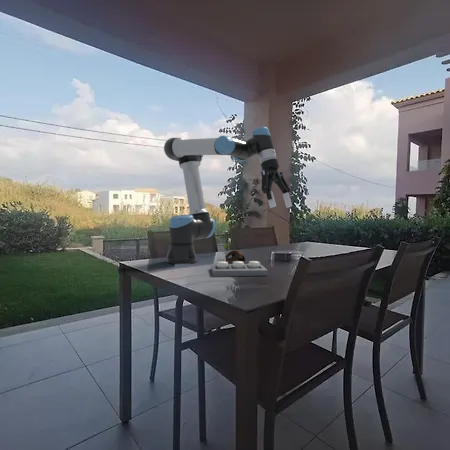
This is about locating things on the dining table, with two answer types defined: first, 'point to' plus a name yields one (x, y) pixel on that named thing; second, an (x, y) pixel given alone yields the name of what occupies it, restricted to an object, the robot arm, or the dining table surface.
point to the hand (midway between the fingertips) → (281, 207)
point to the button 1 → (222, 265)
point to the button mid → (238, 265)
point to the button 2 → (254, 264)
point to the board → (239, 271)
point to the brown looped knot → (235, 257)
